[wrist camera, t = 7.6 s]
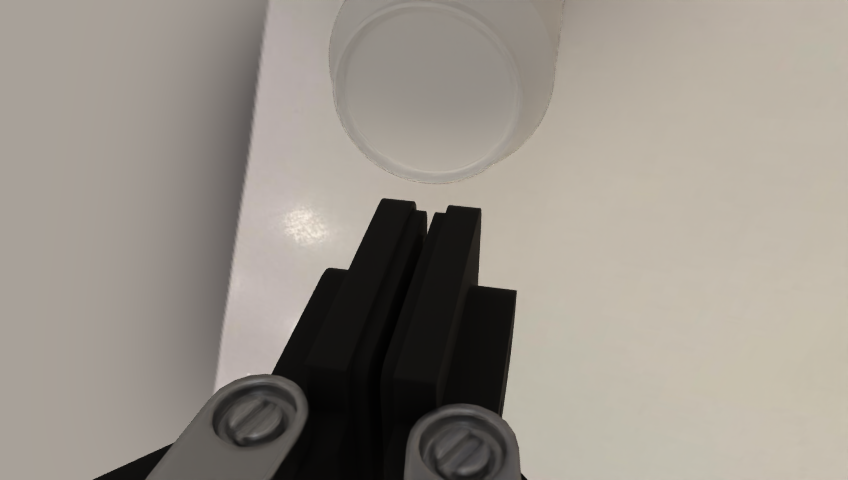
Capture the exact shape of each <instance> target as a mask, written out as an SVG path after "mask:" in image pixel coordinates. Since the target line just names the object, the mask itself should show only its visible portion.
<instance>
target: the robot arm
mask: <svg viewBox="0 0 848 480" xmlns="http://www.w3.org/2000/svg"><path fill="white" fill-rule="evenodd" d="M480 235H481V208H472V207H463V206H453V205H449V206H448V207H447V210H446V213H438V212H435V214H434V216H433V219H432V222H431V225H430V228H429V231H428V234H427V212H426V211H419V210H416V203H415V202H414V201H405V200H395V199H386V198H383V199H382V200H381V201H380V203H379V205H378V207H377V210H376V212H375V214H374V216H373V218H372V220H371V222H370V224H369V227H368V229H367V231H366V233H365V235H364V237H363V239H362V242H361V244H360V246H359V248H358V250H357V252H356V254H355V257H354V259H353V261H352V263H351V265H350V267H349V269H348V270H345V269H337V268H328V269H326V270H325V272H324V273H323V275H322V276H321V278H320V280H319V282H318V284H317V286H316V288H315V290H314V292H313V294H312V296H311V298H310V300H309V302H308V304H307V306H306V308H305V310H304V312H303V313H302V315H301V317H300V319H299V321H298V323H297V325H296V327H295V329H294V331H293V333H292V335H291V337H290V339H289V341H288V343H287V345H286V347H285V349H284V351H283V353H282V354H281V356H280V358H279V360H278V362H277V364H276V366H275V368H274V370H273V372H272V374H271V375H270V374H261V375H250V376H247V377H244V378H241V379H237V380H234V381H233V382H231V383H229V384H227V385H226V386H224V387H222V388H221V389H219V390H218V391H217V392H216V393H215V394H214V395H213V396H212V397H211V398H210V399H209V400H208V401H207V403H206V404H205V405H204V407H203V408H202V409H201V410H200V412H199V413H198V414H197V415H196V416H195V418H194V419H193V420H192V421H191V423H190V424H189V425H188V426H187V428H186V429H185V430H184V431H183V433H182V434H181V435H180V436H179V438H178V439H177V440H176V442H174V443H172V444H170V445H168V446H166V447H163V448H162V449H159V450H157V451H155V452H153V453H150V454H148V455H146V456H144V457H141V458H139V459H137V460H135V461H133V462H131V463H128V464H126V465H124V466H122V467H120V468H117V469H115V470H113V471H111V472H109V473H107V474H104V475H102V476H100V477H98V478H95V479H93V480H527V479H526V478H525V477H524V475H523V474H522V473H521V471H520V457H519V447H518V443H517V440H516V436H515V433H514V432H513V431H512V429H511V428H510V426H509V425H508V423H507V422H506V421H505V420H503V419H502V414H503V407H504V400H505V392H506V385H507V378H508V371H509V363H510V355H511V347H512V338H513V328H514V318H515V307H516V295H517V290H509V289H500V288H492V287H484V286H478V273H479V254H480Z"/></svg>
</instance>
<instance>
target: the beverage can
mask: <svg viewBox="0 0 848 480" xmlns="http://www.w3.org/2000/svg"><path fill="white" fill-rule="evenodd" d="M563 5H564V0H346V1H345V2H344V4H343V5H342V7H341V9H340V11H339V13H338V15H337V18H336V20H335V23H334V26H333V30H332V34H331V39H330V47H329V67H330V75H331V80H332V84H333V95H334V102H335V106H336V110H337V113H338V116H339V119H340V121H341V123H342V126H343V128H344V129H345V131H346V133H347V135H348V136H349V138H350V139H351V141H352V142H353V143H354V144H355V146H356V147H357V148H358V149H359V150H360V151H361V152H362V153H363V154H364V155H365V156H366V157H367V158H368V159H369V160H371V161H372V162H373V163H374V164H376V165H377V166H379V167H380V168H382V169H384V170H385V171H387V172H389V173H391V174H393V175H396V176H398V177H401V178H404V179H407V180H410V181H414V182H420V183H428V184H445V183H452V182H457V181H461V180H465V179H468V178H470V177H473V176H475V175H477V174H479V173H481V172H483V171H484V170H486V169H488V168H489V167H490V166H492V165H493V164H495V163H497V162H499V161H501V160H503V159H504V158H506V157H508V156H509V155H511V154H512V153H513V152H515V151H516V150H517V149H519V148H520V147H521V146H522V145H523V144H524V143H525V142H526V141H527V140H528V139H529V138H530V136H531V135H532V134H533V133H534V131H535V130H536V129H537V127H538V126H539V124H540V122H541V120H542V119H543V117H544V115H545V112H546V110H547V108H548V105H549V102H550V99H551V95H552V90H553V85H554V77H555V69H556V62H557V54H558V46H559V38H560V30H561V22H562V14H563Z"/></svg>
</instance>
